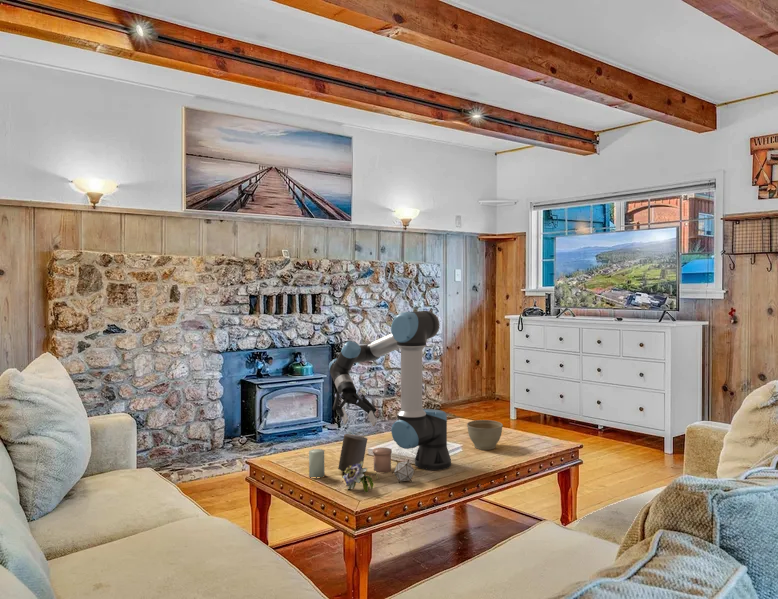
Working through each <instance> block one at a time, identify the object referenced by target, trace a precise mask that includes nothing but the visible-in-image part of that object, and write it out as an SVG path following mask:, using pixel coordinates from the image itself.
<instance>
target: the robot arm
mask: <svg viewBox="0 0 778 599" xmlns="http://www.w3.org/2000/svg"><path fill="white" fill-rule="evenodd" d="M440 327H441V326H440V320H439V318H438V317H437V315H436V314H435V313H434V312H432V311H429V310H418V311H411V310H410V311H405V312H401V313H398V314H397V315H395V317H394V319H393V320H392V323H391V326H390V333H388V334H386V335H384V336H382V337H380V338H378V339H376V340H373V341H371V342H368V343H366V344H361V345H360V344H358V343H357V342H354V341H351V340H348V341H346V342H345V344H344V345H343V346H342V348H341V351H340V352H339V354H338V357H337V358H334V359H332V360H331V361H330V362H329V364H328V370H329V374H330V376H331V378H332V381H333V383H334V385H335V388H336V390H337V391H336V393H335V394H334V396H333V398H334V402H333V406H332V411H334V412H335V411H336V414H338V415H339V417H341V419H342V422H343V424H344V425H347V423H348V421H349V420H350V419H349V417H348V414H347V413H346V412H347V411H346V410H345V408H344V406H345V405H346V403H347V405H355V406H356V407H358V408H360V409H362V410H363V411H364V412H365V413H367V417H368V419H369V422H370V423H371V425H372V427H375V426H376V425H377V423H378V421H377V419H376V413H377V408H376V407H375V406H374V405H373V404H372V403H371V402H370V401H369V400H368V399H367V398H366V396H365V395H364V394H361V395H358V393H357V389H356V386H355V384H354V382H353V380H352V377H351V375H350V371H351V369H352V367H353V366H354V364H358V363H364V362H373V361H377V360H379V359H380V358H381V357H382V356H384V355H386V354H389V353H392V352H394V351H396V350H398V349H400V410H398V411H397V413H396V414H397V417H396V421H394V422H393V424H392V425H391V430H390V431H391V437H392V439H393V441H394V442H395V443H396V445H397V446H398V447H399V448H402V449H405V450H406V449H407V450H410V449H414V448H417V447H418V448H417V451H416V454H415V457H414V466H415V467H416V468H419V469H422V470H426V471H427V470H428V471H442V470H446V469H449V468H450V467H451V466H452V458H451V455H450V452H449V448H448V442H447V441H448V437H447V436H448V434H447V433H448V431H447V430H448V428H447V427H448V426H447V425H448V423H447V422H448V420H447V418H448V417H447V413H446V412H445V411H443V410H439V409H432V408H423V350H424V349H425V348H426V346H427V340H429V339H432V338H433V337H435V336H436V335H437V334H438V332H439V330H440ZM340 399H341V400H342V402H341V403H339V402H340ZM339 404H340V405H339ZM338 405H339V406H338Z"/></svg>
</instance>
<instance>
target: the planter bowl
mask: <svg viewBox="0 0 778 599" xmlns="http://www.w3.org/2000/svg"><path fill="white" fill-rule="evenodd" d="M466 428H467V433H468V437H469V438H470V440H471V442H472V443H473V445H474V449H475V448H476V449H478V450H482V451H485V450H487V451H490V450H494V449H496V446H497V444H498V442H499V441H500V439H501V436H502V434H503V433H502V431H503V423H502V422H500V421H496V420H491V419H477V420H470V421H468V422H467V423H466Z"/></svg>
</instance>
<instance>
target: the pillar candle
mask: <svg viewBox="0 0 778 599" xmlns="http://www.w3.org/2000/svg"><path fill="white" fill-rule="evenodd" d="M367 443H368V437H365V436H361V435H359V434H352V433H345V434H344V435H343V439H342V445H341V451H340V457H339V462H338V467H337V469H338V470H340V471H341V472H343V473H345V470H346V468H347V467H348V466H349V465H350V466H353V465H355V464H356V463H358V464H359V463H360V462H361V461H363V462H364V460H365V456H366V449H367ZM363 466H364V465H363ZM363 466H362V467H361V468H364V467H363Z"/></svg>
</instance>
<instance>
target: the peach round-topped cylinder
mask: <svg viewBox="0 0 778 599" xmlns="http://www.w3.org/2000/svg"><path fill="white" fill-rule="evenodd" d="M392 453H393V451H392V448H389V447H376V448H373V449H372V454H373V471H374V472H375V471H376V473H380V472H384V473H389V472H390V471H392V466H391V465H392Z"/></svg>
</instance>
